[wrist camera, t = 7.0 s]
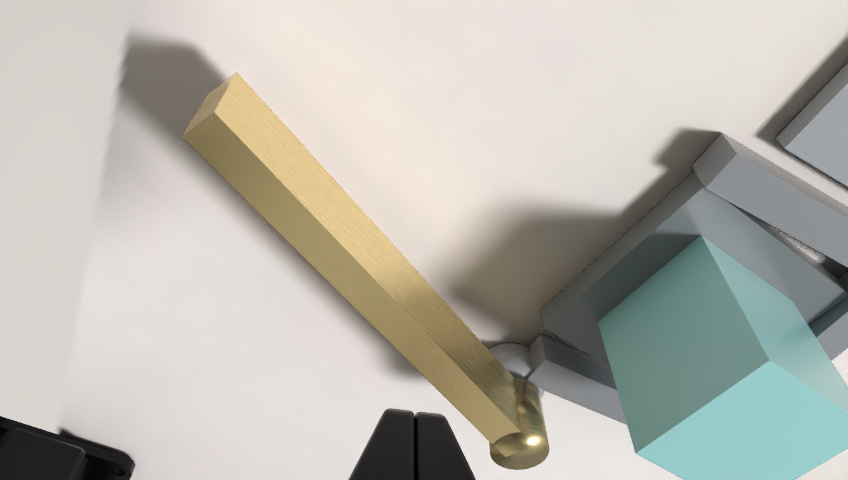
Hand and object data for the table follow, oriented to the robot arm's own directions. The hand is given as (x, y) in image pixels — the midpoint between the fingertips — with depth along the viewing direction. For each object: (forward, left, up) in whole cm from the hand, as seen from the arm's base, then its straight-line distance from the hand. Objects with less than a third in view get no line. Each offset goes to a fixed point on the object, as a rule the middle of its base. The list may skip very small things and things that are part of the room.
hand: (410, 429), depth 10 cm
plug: (-2, -11, -11) cm, 15 cm away
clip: (-4, -2, -10) cm, 11 cm away
